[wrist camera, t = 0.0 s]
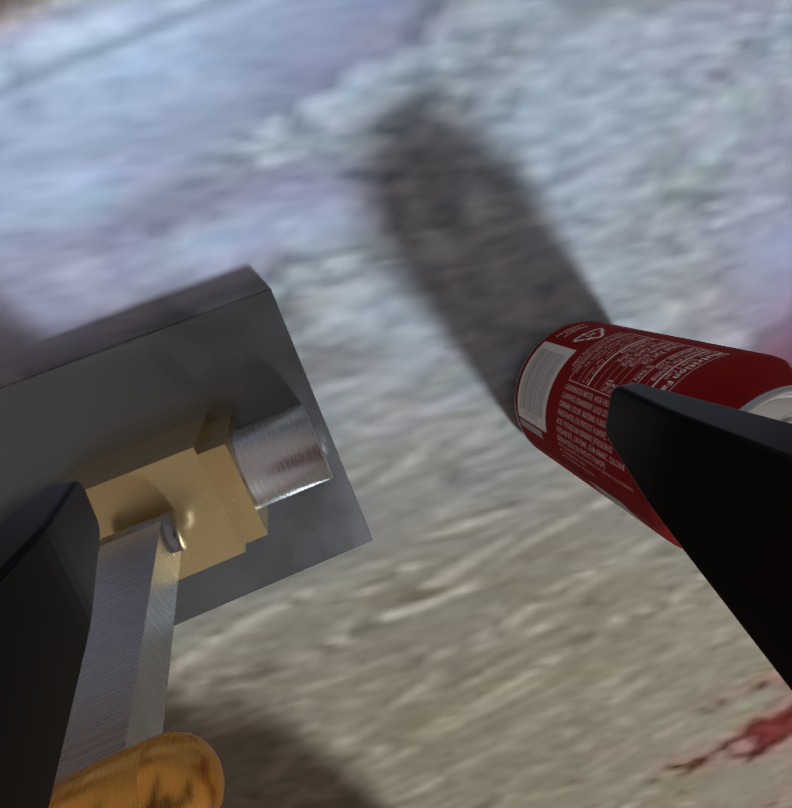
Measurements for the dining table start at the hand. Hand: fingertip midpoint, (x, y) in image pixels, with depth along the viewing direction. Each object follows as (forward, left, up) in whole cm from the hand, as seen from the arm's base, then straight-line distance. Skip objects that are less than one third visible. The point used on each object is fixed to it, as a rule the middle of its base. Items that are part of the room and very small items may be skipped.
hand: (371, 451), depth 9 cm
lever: (-8, +2, -9) cm, 13 cm away
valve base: (-8, +2, -15) cm, 18 cm away
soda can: (+5, -12, -16) cm, 20 cm away
